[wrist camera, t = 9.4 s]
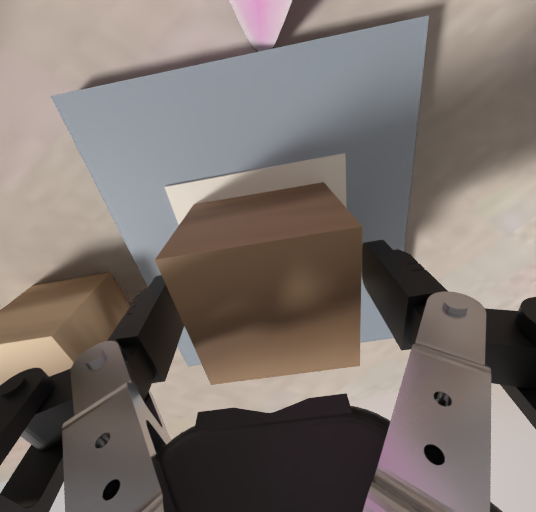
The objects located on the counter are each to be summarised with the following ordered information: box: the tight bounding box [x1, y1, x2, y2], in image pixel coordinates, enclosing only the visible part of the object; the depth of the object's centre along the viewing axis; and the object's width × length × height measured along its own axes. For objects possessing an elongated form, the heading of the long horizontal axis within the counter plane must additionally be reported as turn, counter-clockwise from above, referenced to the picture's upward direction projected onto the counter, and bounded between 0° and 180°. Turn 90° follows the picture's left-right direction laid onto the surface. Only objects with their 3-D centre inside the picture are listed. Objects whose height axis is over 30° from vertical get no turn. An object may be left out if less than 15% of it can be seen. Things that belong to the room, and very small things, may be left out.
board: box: [51, 15, 429, 366], centre depth 14 cm, size 16×14×1 cm
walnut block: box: [155, 182, 362, 385], centre depth 11 cm, size 6×6×5 cm
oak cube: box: [0, 272, 130, 385], centre depth 14 cm, size 5×5×5 cm
